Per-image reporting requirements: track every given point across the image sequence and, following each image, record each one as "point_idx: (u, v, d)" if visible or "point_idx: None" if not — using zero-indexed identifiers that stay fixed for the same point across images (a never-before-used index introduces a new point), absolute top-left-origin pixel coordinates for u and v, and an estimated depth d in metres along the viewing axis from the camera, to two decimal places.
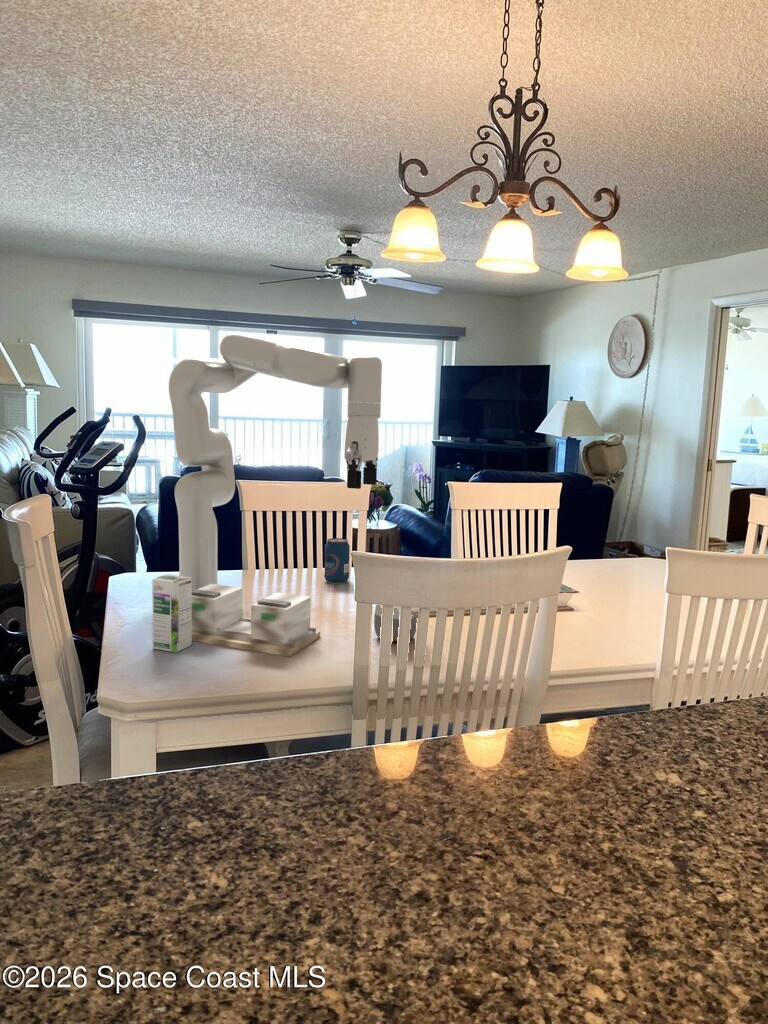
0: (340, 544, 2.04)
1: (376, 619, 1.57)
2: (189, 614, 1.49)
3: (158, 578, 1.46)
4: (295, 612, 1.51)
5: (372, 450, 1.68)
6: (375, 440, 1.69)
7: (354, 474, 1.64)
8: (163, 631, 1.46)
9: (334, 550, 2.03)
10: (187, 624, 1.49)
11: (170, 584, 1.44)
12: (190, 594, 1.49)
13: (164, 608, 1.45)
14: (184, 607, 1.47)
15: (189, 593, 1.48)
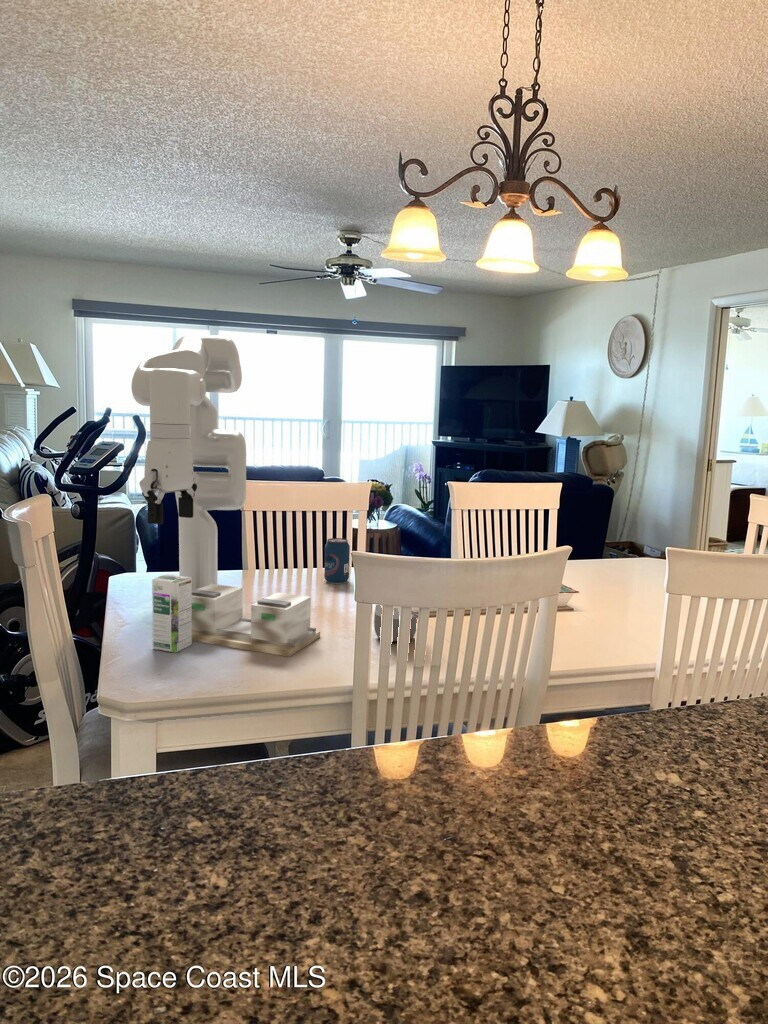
0: (340, 544, 2.04)
1: (376, 619, 1.57)
2: (189, 614, 1.49)
3: (158, 578, 1.46)
4: (295, 612, 1.51)
5: (181, 479, 1.44)
6: (185, 466, 1.45)
7: (153, 507, 1.39)
8: (163, 631, 1.46)
9: (334, 550, 2.03)
10: (187, 624, 1.49)
11: (170, 584, 1.44)
12: (190, 594, 1.49)
13: (164, 608, 1.45)
14: (184, 607, 1.47)
15: (189, 593, 1.48)
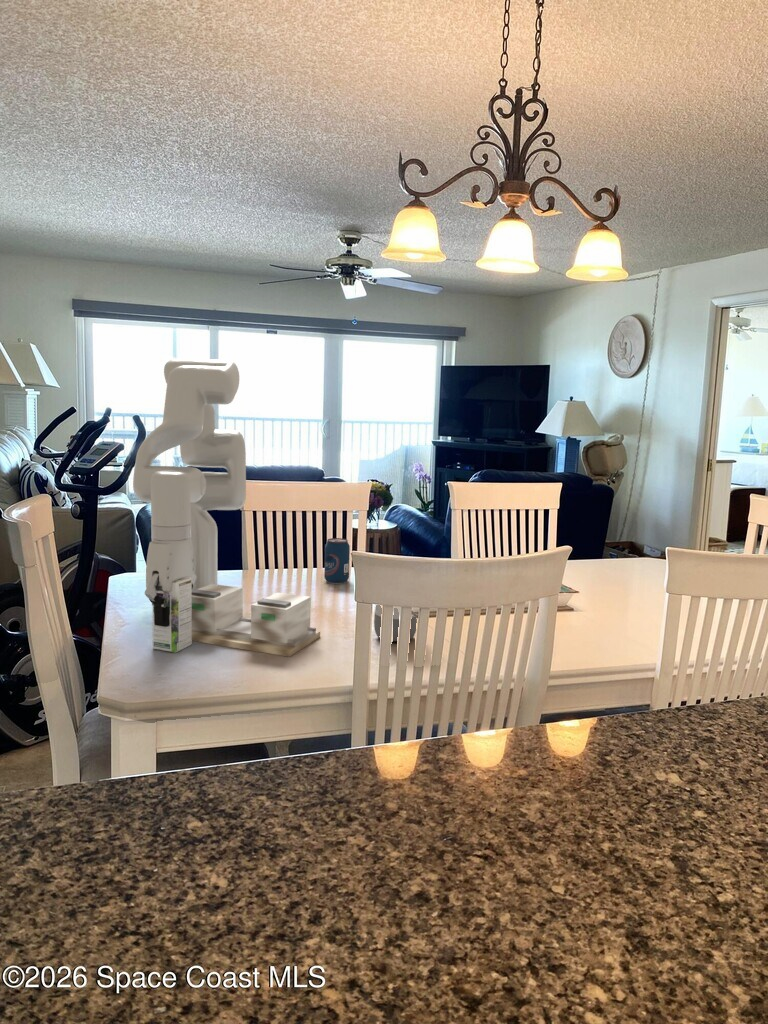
0: (340, 544, 2.04)
1: (376, 619, 1.57)
2: (189, 614, 1.49)
3: None
4: (295, 612, 1.51)
5: (181, 577, 1.46)
6: (186, 565, 1.47)
7: (160, 611, 1.44)
8: (163, 631, 1.46)
9: (334, 550, 2.03)
10: (187, 624, 1.49)
11: None
12: (190, 594, 1.49)
13: None
14: (184, 607, 1.47)
15: (189, 593, 1.48)
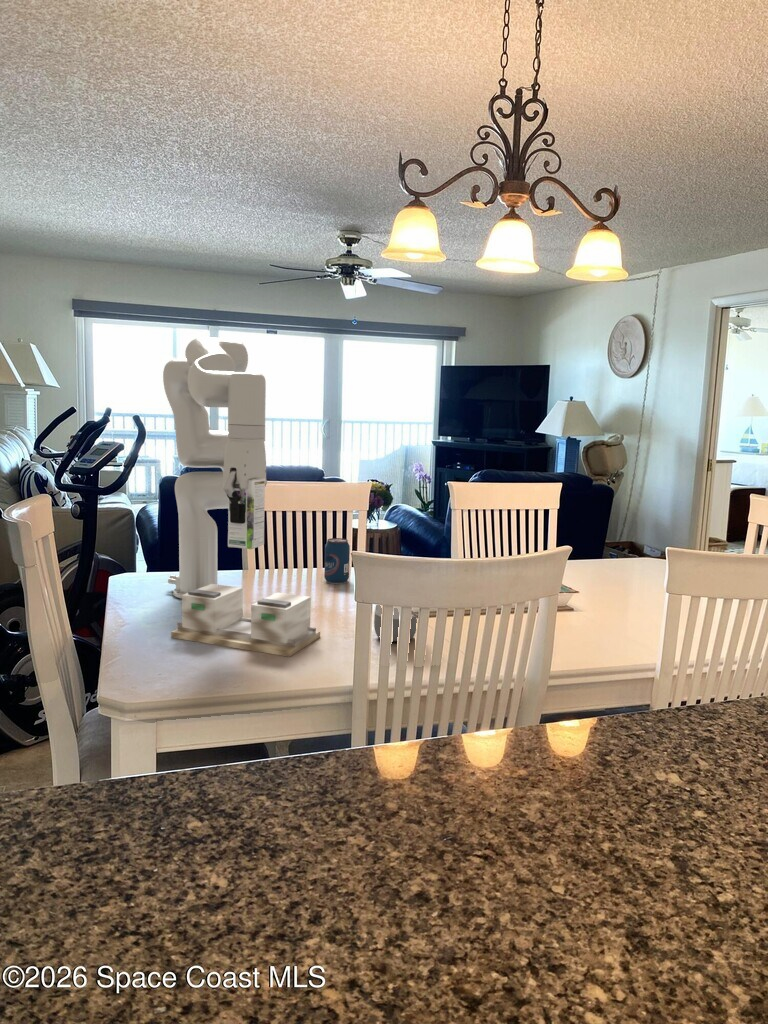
0: (340, 544, 2.04)
1: (376, 619, 1.57)
2: (262, 514, 1.54)
3: None
4: (295, 612, 1.51)
5: (256, 477, 1.51)
6: (260, 465, 1.52)
7: (236, 508, 1.49)
8: (238, 529, 1.51)
9: (334, 550, 2.04)
10: (261, 524, 1.54)
11: None
12: (263, 494, 1.54)
13: None
14: (258, 506, 1.52)
15: (262, 493, 1.53)
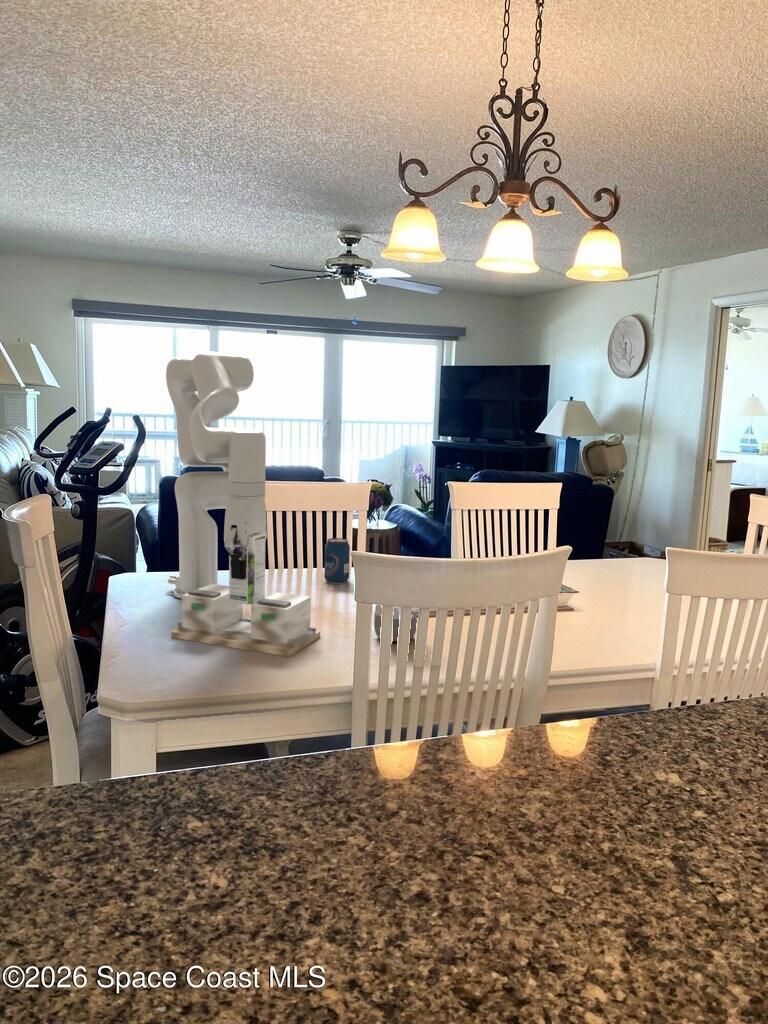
0: (340, 544, 2.04)
1: (376, 619, 1.57)
2: (263, 568, 1.56)
3: None
4: (295, 612, 1.51)
5: (256, 532, 1.53)
6: (260, 521, 1.54)
7: (237, 564, 1.50)
8: (239, 584, 1.52)
9: (334, 550, 2.03)
10: (262, 578, 1.55)
11: None
12: (264, 549, 1.55)
13: None
14: (259, 561, 1.54)
15: (263, 548, 1.55)
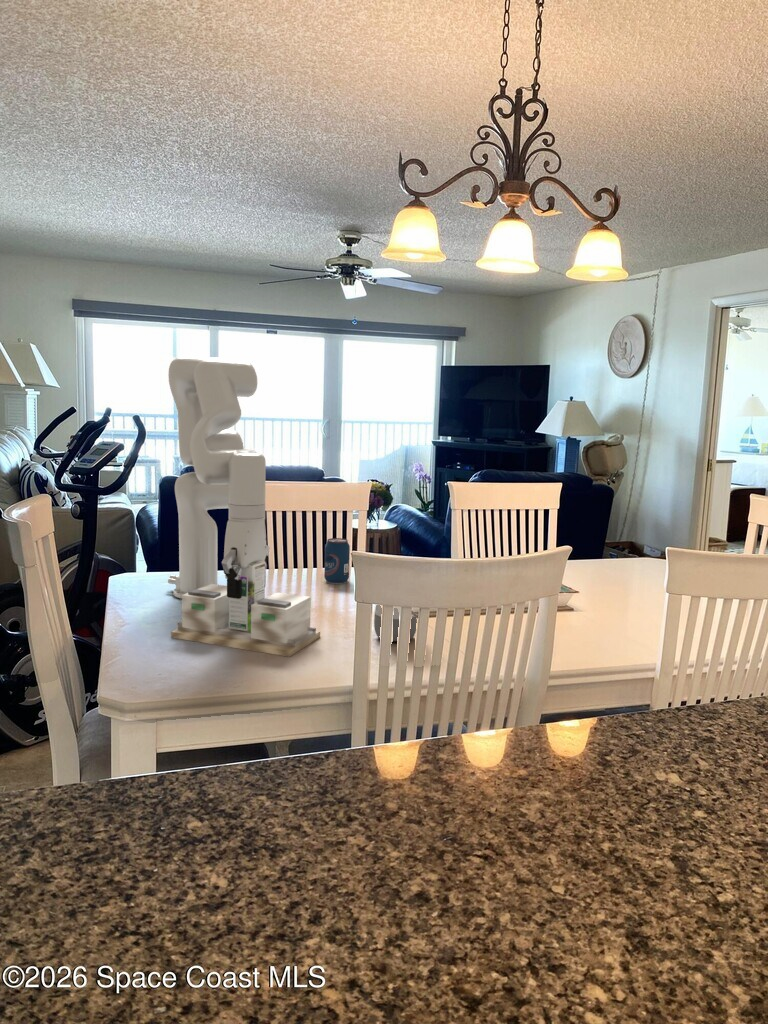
0: (340, 544, 2.04)
1: (376, 619, 1.57)
2: (263, 596, 1.57)
3: None
4: (295, 612, 1.51)
5: (256, 554, 1.54)
6: (260, 542, 1.55)
7: (233, 583, 1.50)
8: (239, 612, 1.54)
9: (334, 550, 2.03)
10: None
11: None
12: (264, 577, 1.57)
13: None
14: (259, 589, 1.55)
15: (263, 575, 1.56)
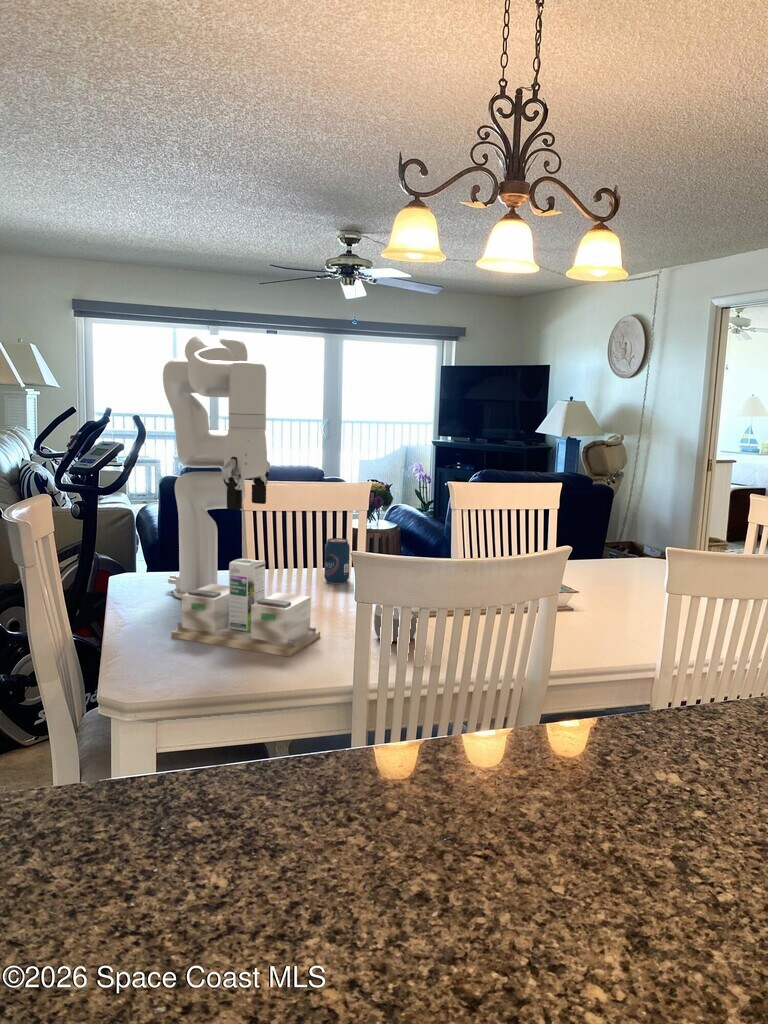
0: (340, 544, 2.04)
1: (376, 619, 1.57)
2: (263, 596, 1.57)
3: (234, 561, 1.54)
4: (295, 612, 1.51)
5: (257, 466, 1.51)
6: (261, 455, 1.52)
7: (233, 493, 1.47)
8: (239, 612, 1.54)
9: (334, 550, 2.03)
10: None
11: (247, 567, 1.52)
12: (264, 577, 1.57)
13: (241, 590, 1.53)
14: (259, 589, 1.55)
15: (262, 575, 1.56)
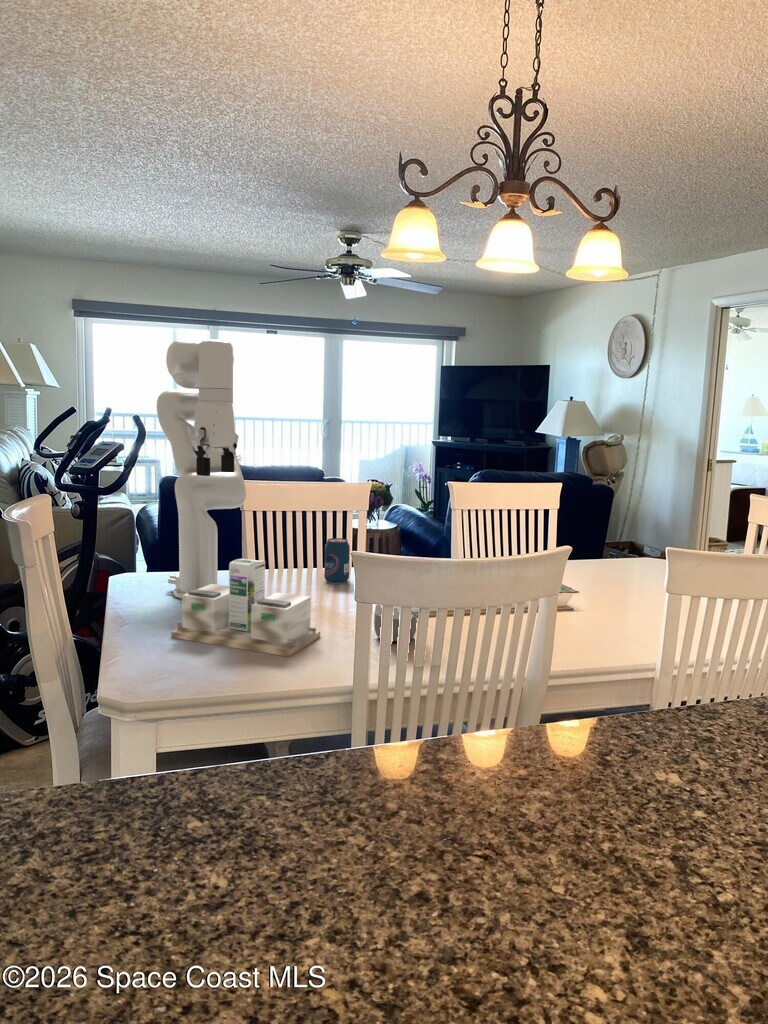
0: (340, 544, 2.04)
1: (376, 619, 1.57)
2: (263, 596, 1.57)
3: (234, 561, 1.54)
4: (295, 612, 1.51)
5: (224, 437, 1.64)
6: (228, 426, 1.65)
7: (202, 461, 1.60)
8: (239, 612, 1.54)
9: (334, 550, 2.03)
10: None
11: (247, 567, 1.52)
12: (264, 577, 1.57)
13: (241, 590, 1.53)
14: (259, 589, 1.55)
15: (262, 575, 1.56)
